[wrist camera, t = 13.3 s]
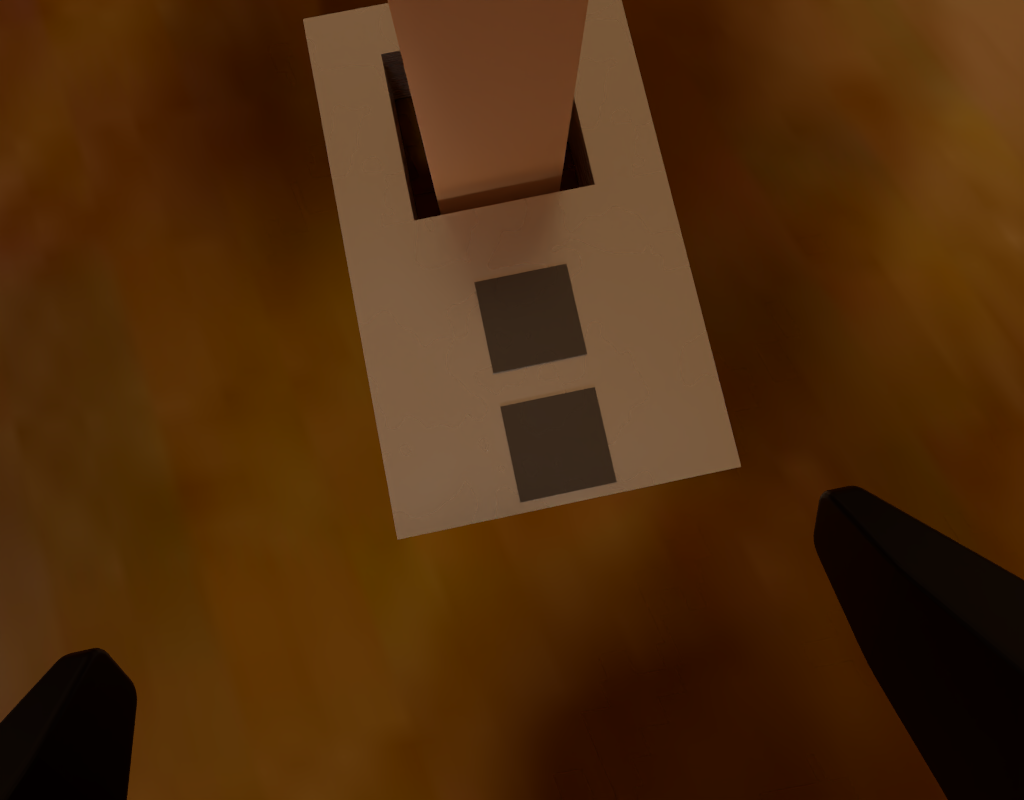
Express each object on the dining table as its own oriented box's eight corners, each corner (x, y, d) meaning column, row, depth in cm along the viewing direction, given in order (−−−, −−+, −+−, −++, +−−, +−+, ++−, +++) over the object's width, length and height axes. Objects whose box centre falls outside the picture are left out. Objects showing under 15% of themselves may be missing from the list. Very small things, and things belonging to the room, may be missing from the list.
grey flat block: (715, 470, 22) (742, 466, 20) (410, 535, 22) (397, 539, 20) (601, 14, 25) (612, -42, 22) (324, 68, 24) (301, 17, 22)
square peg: (559, 202, 24) (626, -221, 10) (441, 225, 24) (342, -168, 10) (534, 93, 24) (564, -449, 10) (419, 115, 24) (295, -403, 10)
